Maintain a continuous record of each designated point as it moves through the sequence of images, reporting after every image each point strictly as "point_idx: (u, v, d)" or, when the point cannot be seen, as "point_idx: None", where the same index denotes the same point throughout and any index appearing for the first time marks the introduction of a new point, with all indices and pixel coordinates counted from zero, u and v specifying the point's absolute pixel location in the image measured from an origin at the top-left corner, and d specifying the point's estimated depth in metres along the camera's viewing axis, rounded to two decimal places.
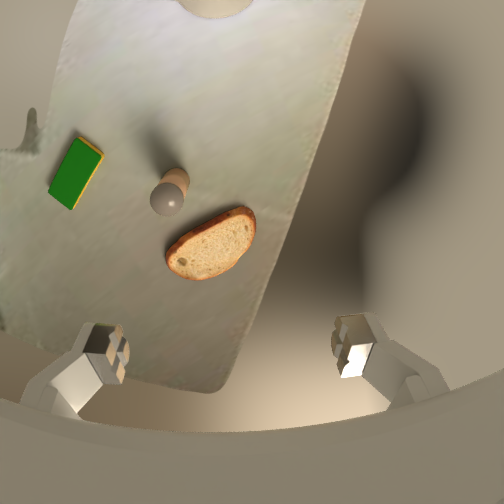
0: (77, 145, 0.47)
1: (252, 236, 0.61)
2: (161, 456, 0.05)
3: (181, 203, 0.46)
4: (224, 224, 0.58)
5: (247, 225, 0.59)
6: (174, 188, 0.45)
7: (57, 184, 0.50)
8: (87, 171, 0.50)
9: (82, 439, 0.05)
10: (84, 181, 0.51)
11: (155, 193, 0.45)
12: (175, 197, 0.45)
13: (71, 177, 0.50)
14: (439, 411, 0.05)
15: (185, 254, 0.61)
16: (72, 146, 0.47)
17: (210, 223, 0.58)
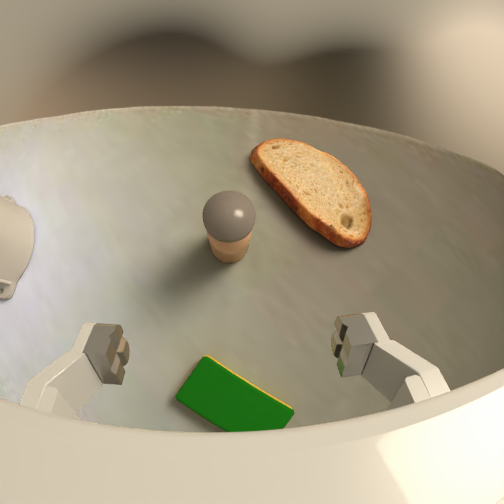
0: (186, 395, 0.34)
1: (285, 139, 0.44)
2: (161, 456, 0.05)
3: (230, 192, 0.31)
4: (275, 169, 0.42)
5: (272, 146, 0.44)
6: (208, 204, 0.30)
7: None
8: (228, 380, 0.35)
9: (81, 439, 0.05)
10: (244, 386, 0.35)
11: (220, 232, 0.30)
12: (222, 201, 0.31)
13: (238, 408, 0.34)
14: (439, 411, 0.05)
15: (334, 217, 0.41)
16: (188, 404, 0.33)
17: (279, 188, 0.42)
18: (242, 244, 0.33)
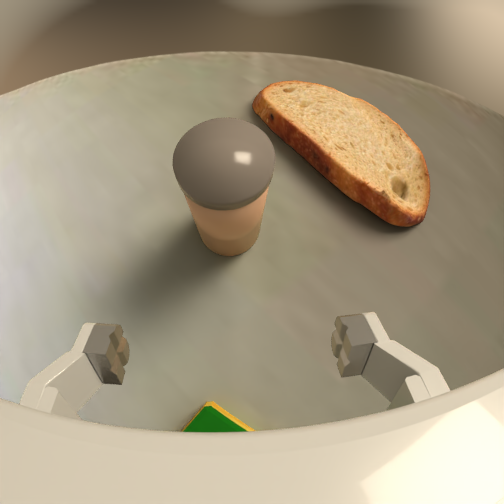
0: None
1: (301, 82, 0.29)
2: (161, 456, 0.05)
3: (225, 120, 0.16)
4: (291, 116, 0.26)
5: (283, 88, 0.28)
6: (183, 141, 0.15)
7: None
8: None
9: (81, 439, 0.05)
10: None
11: (206, 189, 0.15)
12: (210, 135, 0.15)
13: None
14: (439, 411, 0.05)
15: (383, 181, 0.26)
16: None
17: (299, 142, 0.27)
18: (251, 217, 0.18)
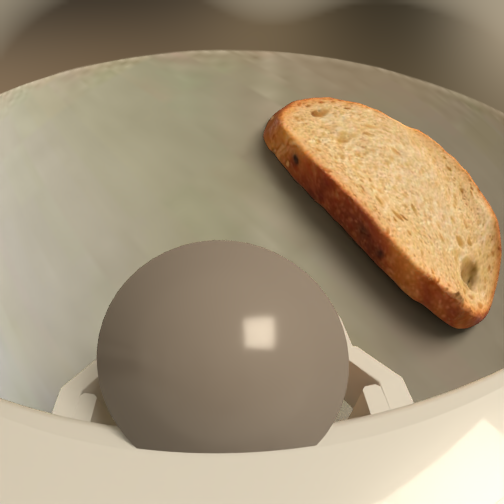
0: None
1: (336, 100, 0.19)
2: (161, 456, 0.05)
3: (220, 250, 0.06)
4: (327, 160, 0.17)
5: (311, 110, 0.19)
6: (116, 316, 0.06)
7: None
8: None
9: (81, 439, 0.05)
10: None
11: None
12: (180, 302, 0.06)
13: None
14: (439, 411, 0.05)
15: (453, 268, 0.16)
16: None
17: (339, 205, 0.17)
18: None
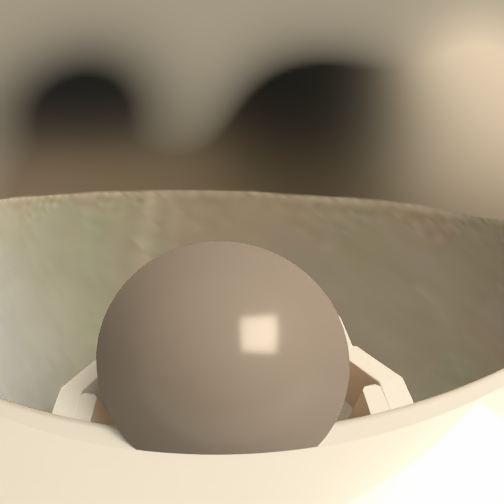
0: None
1: None
2: (161, 456, 0.05)
3: (220, 251, 0.06)
4: None
5: None
6: (116, 318, 0.06)
7: None
8: None
9: (82, 439, 0.05)
10: None
11: None
12: (180, 304, 0.06)
13: None
14: (439, 411, 0.05)
15: None
16: None
17: None
18: None
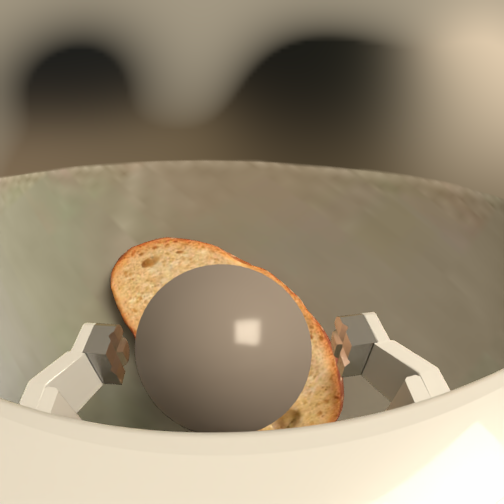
0: None
1: (172, 241, 0.22)
2: (161, 456, 0.05)
3: (222, 271, 0.09)
4: None
5: (143, 259, 0.21)
6: (150, 317, 0.09)
7: None
8: None
9: (81, 439, 0.05)
10: None
11: (196, 415, 0.08)
12: (195, 307, 0.09)
13: None
14: (439, 411, 0.05)
15: None
16: None
17: None
18: None
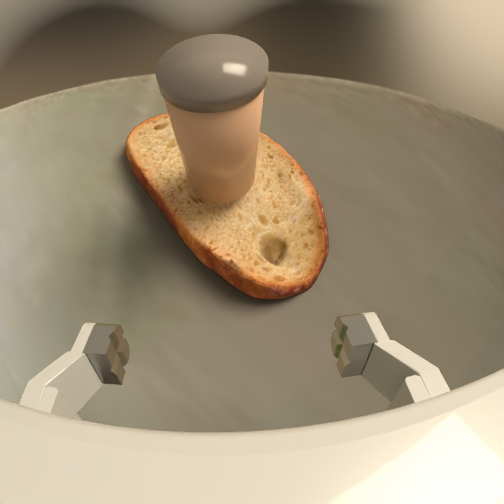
0: None
1: None
2: (161, 456, 0.05)
3: (212, 36, 0.13)
4: (148, 162, 0.23)
5: (155, 125, 0.25)
6: (168, 54, 0.12)
7: None
8: None
9: (81, 439, 0.05)
10: None
11: (192, 88, 0.11)
12: (196, 47, 0.12)
13: None
14: (439, 411, 0.05)
15: (246, 242, 0.22)
16: None
17: (152, 194, 0.23)
18: (245, 134, 0.15)
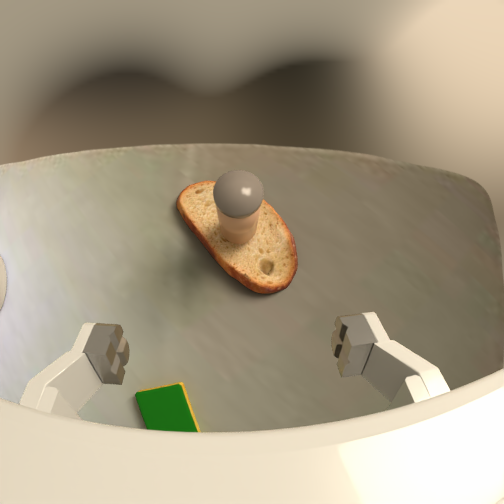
0: (144, 398, 0.36)
1: (210, 182, 0.45)
2: (161, 456, 0.05)
3: (235, 171, 0.32)
4: (195, 216, 0.43)
5: (196, 190, 0.45)
6: (216, 185, 0.32)
7: None
8: (182, 412, 0.36)
9: (81, 439, 0.05)
10: (191, 425, 0.35)
11: (232, 209, 0.31)
12: (229, 181, 0.32)
13: None
14: (439, 411, 0.05)
15: (252, 263, 0.42)
16: (140, 405, 0.36)
17: (198, 235, 0.43)
18: (253, 219, 0.35)
